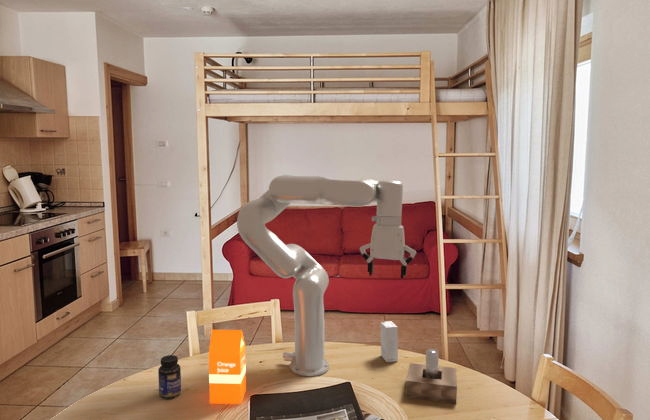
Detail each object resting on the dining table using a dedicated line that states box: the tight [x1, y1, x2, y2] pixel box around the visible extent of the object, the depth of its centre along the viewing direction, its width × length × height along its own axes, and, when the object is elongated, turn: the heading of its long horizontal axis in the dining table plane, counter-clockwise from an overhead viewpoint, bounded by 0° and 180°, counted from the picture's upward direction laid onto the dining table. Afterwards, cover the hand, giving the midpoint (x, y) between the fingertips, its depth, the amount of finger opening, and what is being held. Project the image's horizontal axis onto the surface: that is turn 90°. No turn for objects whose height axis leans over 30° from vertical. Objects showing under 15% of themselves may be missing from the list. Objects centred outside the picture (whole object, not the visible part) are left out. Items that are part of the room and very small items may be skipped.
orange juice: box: [208, 329, 247, 405], centre depth 139 cm, size 8×9×20 cm
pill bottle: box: [157, 354, 182, 400], centre depth 141 cm, size 6×6×11 cm
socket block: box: [405, 362, 458, 405], centre depth 145 cm, size 14×12×5 cm
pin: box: [425, 348, 440, 379], centre depth 144 cm, size 4×4×11 cm
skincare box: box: [380, 320, 399, 363], centre depth 166 cm, size 6×4×12 cm
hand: (386, 276), depth 151 cm, fingers open, 9 cm apart
